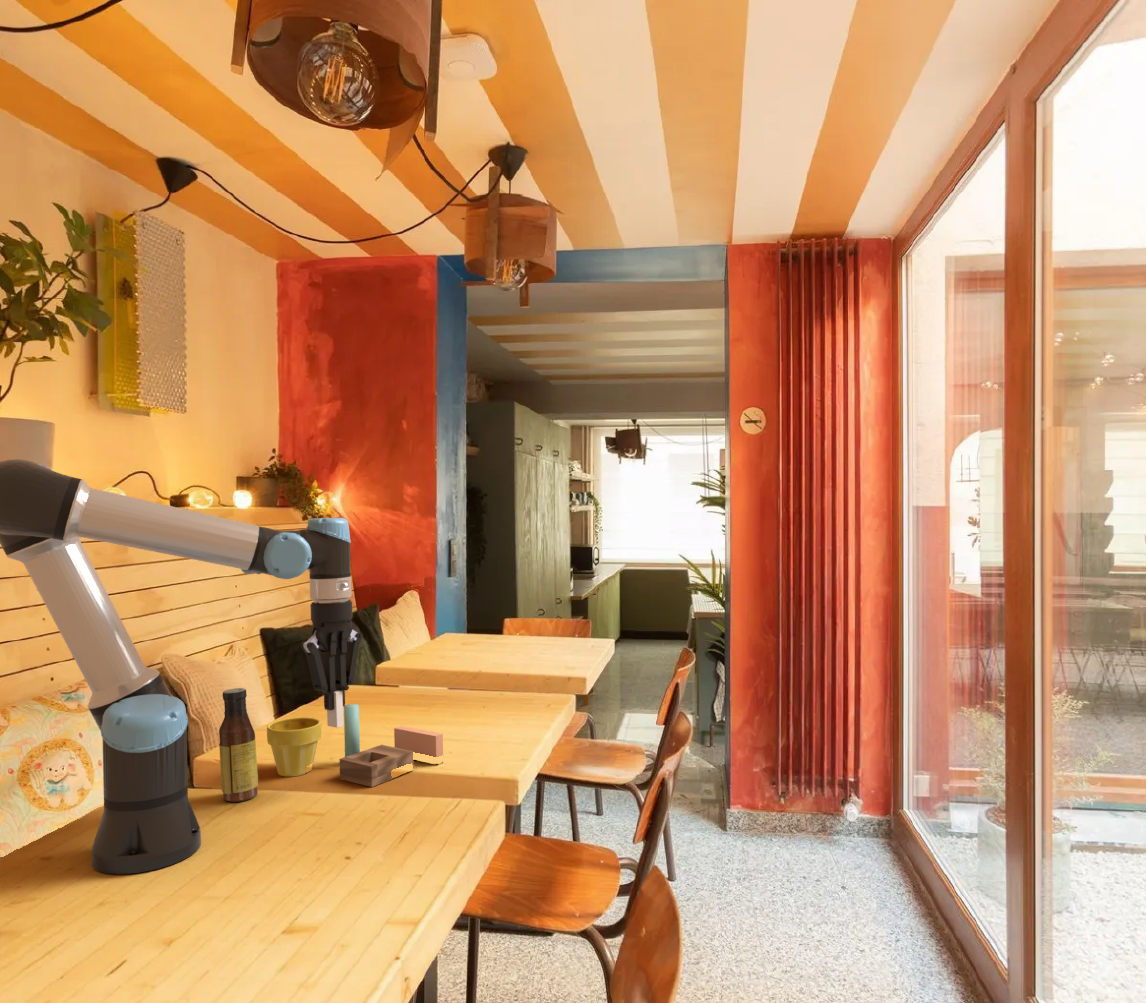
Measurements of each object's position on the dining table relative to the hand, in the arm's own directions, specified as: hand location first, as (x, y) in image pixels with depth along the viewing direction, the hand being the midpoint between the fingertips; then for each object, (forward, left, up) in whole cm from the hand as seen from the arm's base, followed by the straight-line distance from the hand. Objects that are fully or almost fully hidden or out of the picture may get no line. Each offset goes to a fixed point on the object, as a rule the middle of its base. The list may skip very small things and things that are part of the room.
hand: (335, 725), depth 156 cm
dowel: (+13, +10, -12) cm, 20 cm away
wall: (+22, 0, -12) cm, 25 cm away
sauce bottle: (-12, +13, -13) cm, 21 cm away
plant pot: (+3, +16, -12) cm, 21 cm away
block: (+10, 0, -12) cm, 16 cm away
